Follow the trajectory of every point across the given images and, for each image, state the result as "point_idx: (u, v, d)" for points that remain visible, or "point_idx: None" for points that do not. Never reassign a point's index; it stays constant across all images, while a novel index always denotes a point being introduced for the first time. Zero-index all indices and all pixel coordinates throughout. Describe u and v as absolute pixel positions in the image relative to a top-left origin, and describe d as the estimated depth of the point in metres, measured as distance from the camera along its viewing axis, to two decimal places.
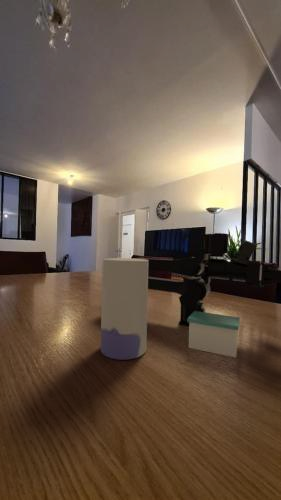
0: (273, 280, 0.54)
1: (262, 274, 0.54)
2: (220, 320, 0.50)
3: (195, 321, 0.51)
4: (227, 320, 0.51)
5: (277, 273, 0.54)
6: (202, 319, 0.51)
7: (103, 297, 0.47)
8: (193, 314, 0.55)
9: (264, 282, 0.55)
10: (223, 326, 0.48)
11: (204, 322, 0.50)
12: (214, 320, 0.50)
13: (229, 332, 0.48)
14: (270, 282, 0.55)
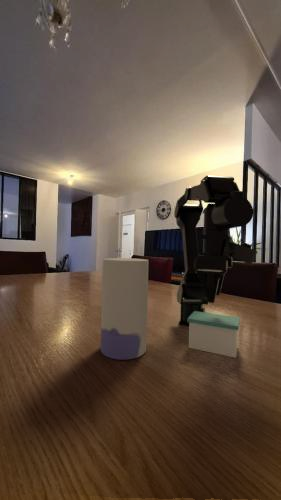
0: (204, 282, 0.47)
1: (209, 272, 0.45)
2: (220, 320, 0.50)
3: (195, 321, 0.51)
4: (227, 320, 0.51)
5: (213, 286, 0.47)
6: (202, 319, 0.51)
7: (103, 297, 0.47)
8: (193, 314, 0.55)
9: (201, 273, 0.47)
10: (223, 326, 0.48)
11: (204, 322, 0.50)
12: (214, 320, 0.50)
13: (229, 332, 0.48)
14: (201, 279, 0.47)
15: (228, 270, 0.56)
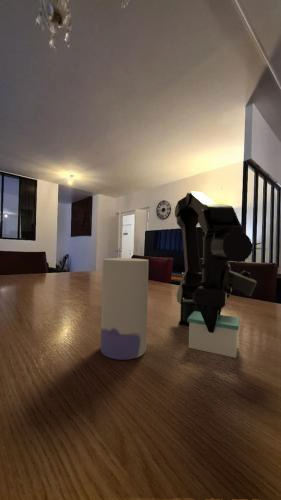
0: (204, 313, 0.48)
1: (209, 304, 0.46)
2: (219, 320, 0.50)
3: (195, 321, 0.51)
4: (227, 320, 0.51)
5: (213, 317, 0.48)
6: (202, 319, 0.51)
7: (103, 297, 0.47)
8: (193, 314, 0.55)
9: (201, 304, 0.48)
10: (223, 326, 0.48)
11: (204, 322, 0.50)
12: None
13: (229, 332, 0.48)
14: (201, 310, 0.48)
15: (227, 297, 0.55)
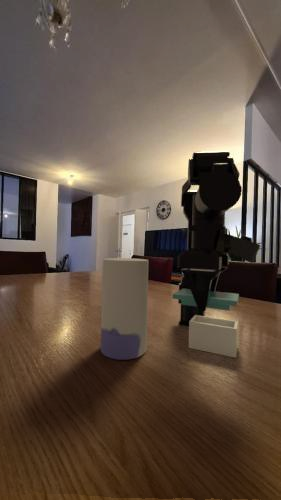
0: (193, 285, 0.37)
1: (199, 272, 0.35)
2: (213, 296, 0.39)
3: (182, 297, 0.40)
4: (223, 296, 0.40)
5: (204, 290, 0.37)
6: (191, 295, 0.40)
7: (103, 297, 0.47)
8: (181, 291, 0.44)
9: (188, 274, 0.37)
10: (217, 302, 0.37)
11: (193, 298, 0.39)
12: None
13: (229, 332, 0.48)
14: (189, 281, 0.37)
15: (223, 270, 0.44)
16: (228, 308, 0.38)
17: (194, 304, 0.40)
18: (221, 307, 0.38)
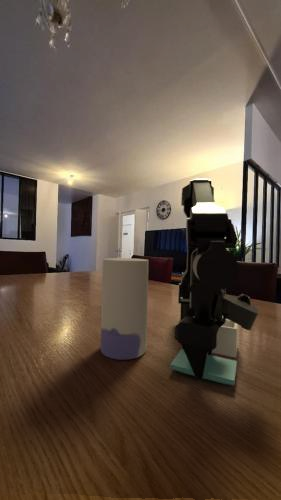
0: (189, 353, 0.37)
1: (195, 344, 0.34)
2: (211, 368, 0.39)
3: (180, 369, 0.40)
4: (220, 367, 0.40)
5: (200, 360, 0.36)
6: (189, 366, 0.40)
7: (103, 297, 0.47)
8: (179, 356, 0.44)
9: None
10: (215, 378, 0.37)
11: (191, 371, 0.39)
12: None
13: (229, 332, 0.48)
14: (186, 349, 0.37)
15: None
16: (225, 383, 0.38)
17: (192, 375, 0.40)
18: (218, 381, 0.38)
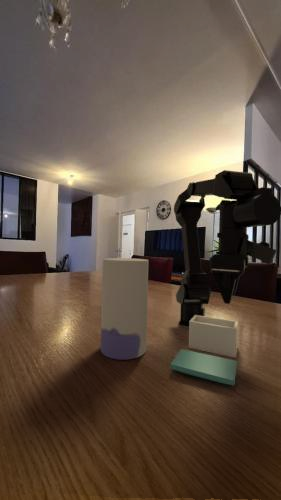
0: (220, 282, 0.46)
1: (226, 272, 0.43)
2: (211, 368, 0.39)
3: (180, 369, 0.40)
4: (221, 367, 0.40)
5: (229, 287, 0.45)
6: (189, 366, 0.40)
7: (103, 297, 0.47)
8: (179, 355, 0.44)
9: (216, 273, 0.45)
10: (215, 378, 0.37)
11: (191, 371, 0.39)
12: (204, 367, 0.40)
13: (229, 332, 0.48)
14: (217, 279, 0.46)
15: (244, 269, 0.54)
16: (226, 383, 0.38)
17: (192, 375, 0.40)
18: (219, 381, 0.38)
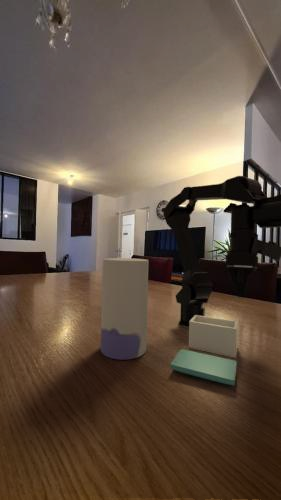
0: (234, 278, 0.50)
1: (241, 268, 0.48)
2: (211, 368, 0.39)
3: (180, 369, 0.40)
4: (221, 367, 0.40)
5: (243, 282, 0.50)
6: (189, 366, 0.40)
7: (103, 297, 0.47)
8: (179, 356, 0.44)
9: (231, 269, 0.50)
10: (215, 378, 0.37)
11: (191, 371, 0.39)
12: (204, 367, 0.40)
13: (229, 332, 0.48)
14: (232, 275, 0.50)
15: (253, 267, 0.59)
16: (226, 383, 0.38)
17: (192, 375, 0.40)
18: (219, 381, 0.38)
